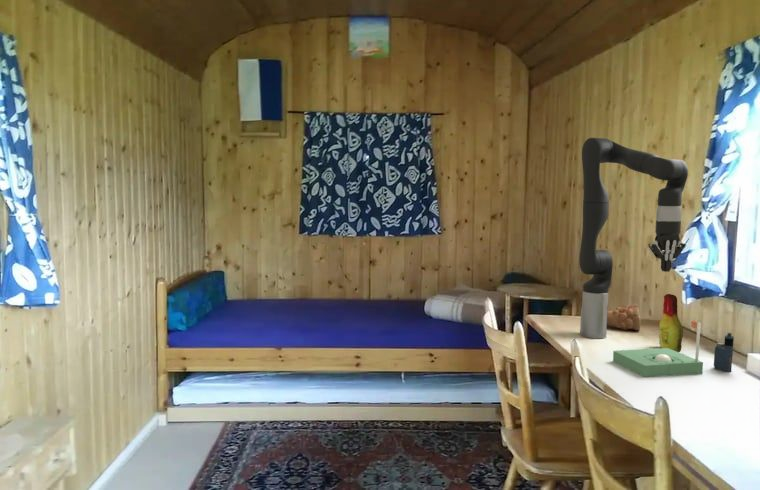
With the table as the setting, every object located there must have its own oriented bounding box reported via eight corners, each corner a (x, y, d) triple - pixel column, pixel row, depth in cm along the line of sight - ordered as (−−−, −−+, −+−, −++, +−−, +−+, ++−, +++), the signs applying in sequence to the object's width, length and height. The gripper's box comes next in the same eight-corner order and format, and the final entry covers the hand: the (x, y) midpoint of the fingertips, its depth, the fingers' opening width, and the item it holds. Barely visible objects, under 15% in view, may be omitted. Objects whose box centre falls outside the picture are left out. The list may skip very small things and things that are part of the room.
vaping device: (728, 372, 177) (731, 334, 175) (711, 367, 181) (714, 330, 180) (733, 371, 178) (736, 333, 177) (716, 366, 182) (719, 330, 181)
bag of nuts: (619, 342, 225) (653, 330, 226) (613, 317, 223) (647, 305, 224) (594, 329, 243) (626, 318, 244) (588, 306, 241) (620, 295, 243)
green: (613, 361, 188) (615, 314, 186) (666, 358, 191) (669, 312, 190) (644, 377, 172) (647, 326, 170) (702, 373, 176) (705, 324, 174)
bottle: (653, 345, 207) (656, 291, 205) (672, 346, 206) (675, 291, 204) (665, 355, 195) (668, 297, 193) (685, 355, 194) (688, 298, 192)
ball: (663, 368, 175) (654, 372, 179) (677, 367, 176) (668, 371, 180) (657, 352, 177) (648, 357, 181) (671, 351, 178) (662, 356, 182)
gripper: (678, 219, 195) (675, 269, 196) (643, 219, 192) (640, 270, 194) (694, 220, 187) (690, 272, 189) (658, 220, 185) (655, 273, 187)
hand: (665, 271), depth 192 cm, fingers closed
